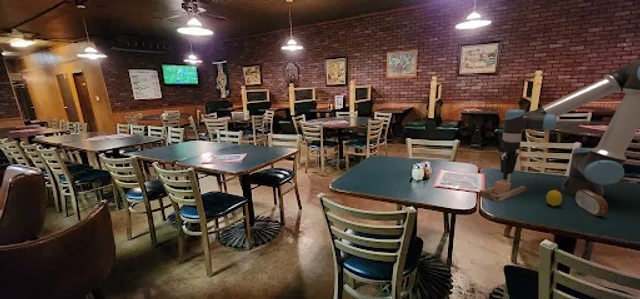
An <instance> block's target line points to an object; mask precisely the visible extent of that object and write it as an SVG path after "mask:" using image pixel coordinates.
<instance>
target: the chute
mask: <svg viewBox="0 0 640 299" xmlns="http://www.w3.org/2000/svg"><path fill="white" fill-rule="evenodd" d="M526 190H527V187H526V186H524V185H521V186H519V187H516V188H513V189H510V191H508V192H505V193H502V194H496V193H494V186H491V187H489V188H488V187H487V188H485V189H480V190H479V192H478V196H479V197H481V198H484V199H487V200H490V201H493V202H495V203H498V202H501V201H505V200H506V199H509V198H511V197H515V196H516V195H519V194H522V193H524V192H526Z"/></svg>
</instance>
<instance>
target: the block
mask: <svg viewBox="0 0 640 299" xmlns="http://www.w3.org/2000/svg"><path fill="white" fill-rule="evenodd" d="M511 183H512V182H511V181H510V182H506V181H503V179H501V180H497V181H494V186H493V187H494V193H493V194H496V195H499V194H502V193H505V192H508V191H510V190H511V186H512V184H511Z"/></svg>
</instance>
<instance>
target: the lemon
mask: <svg viewBox="0 0 640 299" xmlns="http://www.w3.org/2000/svg"><path fill="white" fill-rule="evenodd" d="M545 200H546V202H547V203H548V204H549V205H551V207H556V206H560V204H561V203H562V202H563V196H562V193H561V192H560V191H559V190H557V189H552V190H550V191H548V192H547V193H546V196H545Z"/></svg>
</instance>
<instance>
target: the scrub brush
mask: <svg viewBox="0 0 640 299" xmlns="http://www.w3.org/2000/svg"><path fill="white" fill-rule="evenodd" d="M574 199H575V200H574V201H575V203H576V204H577V206H578V207H579V208H581V209H582V210H584V211H586V212H587V213H589V214H591V215H593V216H596V217H597V216H600V217H604V216H606V215H607V214H608V210H609V207H608V202H607V201H606V199H605V198H603V197H601V196H599V195H597V194H595V193H593V192H591V191H589V190H578V191H577V192H576V195H574Z"/></svg>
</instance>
